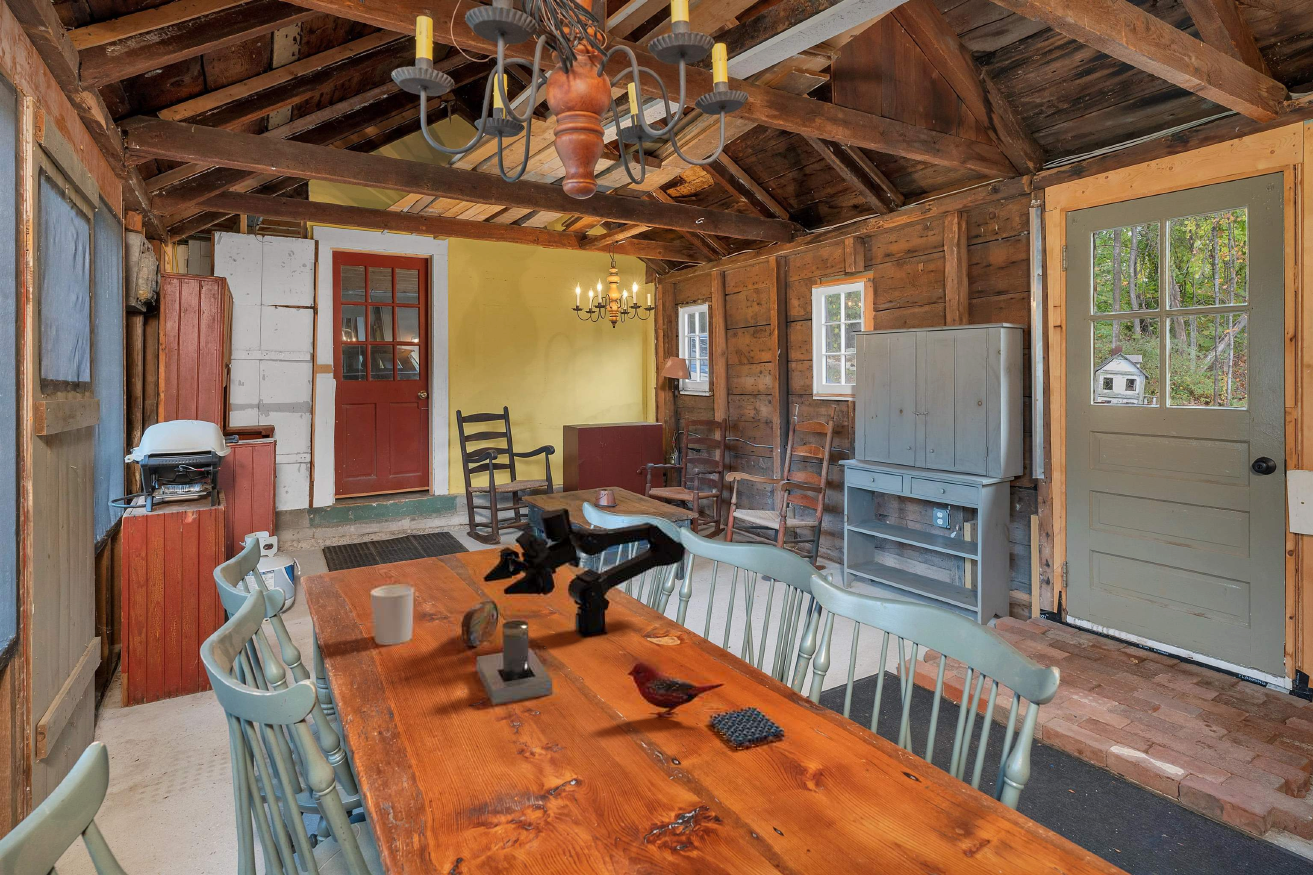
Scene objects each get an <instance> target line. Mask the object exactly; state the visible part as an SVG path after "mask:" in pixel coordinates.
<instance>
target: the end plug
mask: <svg viewBox="0 0 1313 875" xmlns="http://www.w3.org/2000/svg"><path fill="white" fill-rule="evenodd" d="M501 627H502V628H501V630H502V632H501V634H502V653H503V680H504V682H508V681H513V680H519V679H525V678H529V656H528V649H529V622H527V621H526V620H520V619H517V620H515V619H514V620H509V621H505V622H504V623H503V624H502V626H501Z"/></svg>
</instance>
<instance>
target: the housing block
mask: <svg viewBox="0 0 1313 875" xmlns="http://www.w3.org/2000/svg"><path fill="white" fill-rule="evenodd" d="M528 656H529V678H525V679H519V680H513V681H508V682H504V680H503V652H499V653H493V654H487V655H486V654H485V655H480V656H479V655H478V656H476V672H477V674H478V676H479V679H480V681H481V683H482V686H483V688H484V690H485V692H486V694H487V697H488V698H489V700H490V703H491V706H496V705H497V706H498V705H501V704H503V705H504V704H508V703H514V702H518V701H525V700H529V699H533V698H539V697H540V698H541V697H545V696H549V695H551V696H552V695H553V694H554V692H553V678H552V677H551V675H550V673H549V672H548V671H547V670H546V668H545V666H544V665H543V664H542V663H541V661H540V659H539V658H538V656H537V655H536V653H535V652H534V650H532V648H531V647H530V648H529V647H528Z"/></svg>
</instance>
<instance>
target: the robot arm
mask: <svg viewBox="0 0 1313 875" xmlns="http://www.w3.org/2000/svg"><path fill="white" fill-rule="evenodd" d="M539 519H540V522H541V526H542V529H543V532H544V536H545V538H544V537H538V536H537V535H535V534H534V533H532V532H530V531H528V530H524V531H523V532H522V533H521V534H520V535H519V536H517V537H516V538H515V543H516V544H518V545H519V547H520V548H521V549H522V552H521V558H522V559H521V558H520V553H519V552H518V551H517V550H514V549H512V548H510V547H505V548H502V549H500V551H499V552H500V554H499V557H500V558H499V561H498V563H497V564H496V565H495V566H494V567H493V568H492V569H491V570H490V571H489V572H488V573H487V574H486V575H484V577H483V581H484V582H485V583H489V582H496V581H500V580H501V581H502V580H508V579H512V578H513V577H515V576H518V575H520V574H521V572H522V573H524V574H525V575H523V576H522V577H520V578H519V579H518V580H516V581H514V582H513V583H511V584H510V585H508V586H507V587H505V588H504V589H503V594H504V595H540V596H541V595H544V596H547V595H549V594H551V593H553V591H554V589H555V587H556V586H555V581H554V576H553V575H555V574H557V569H559V568H561V567H563V566H564V565H566V564H568V566H570V567H573V568H577V569H578V568H579V566H580V561H581V559H582V558H581V556H579V555H578V554H577V553H578V552H579V553H582V555H583V554H584V555H586V556H590V557H591V556H595V555H598V554H600V553H603V552H605V551H606V550H609V548H612V547H615V546H620V545H627V544H634V543H639V542H643V541H645V542H646V543H647V544H648V547H647V549H646V550H645V551H644V552H642V553H639V554H637V555H636V556H634V557H631V558H628V559H627V560H624V561H623V562H621V563H619V564H617V565H614V566H612V567H609V568H608V569H605V570H603V571H601V572H597V571H596V570H593V569H591V568H590V569H587V570H585V571H583V572H582V573H578V574H575V577H574V578H572V579H571V580H570V581H569V584H568V587H567V593H568V596H569V597H570V598H571V599H572V600H573V602H574V605H577V607H576V610H577V611H576V613H575V614H574V618H575V620H574V622H575V627H574V630H575V631H576V632H578V634H579V635H580V636H581V637H582V638H587V637H592V636H598V635H600V636H601V635H604V634H605V635H606V634H608V632H609V631H608V630H607V629H606V611H607V610H608V609H609V605H610V600H608V598H606V595H607V593H609V591H610V590H611V589H613V588H615V587H617V586H619V585H621V584H624V583H625V582H628V581H629V580H632V579H633V578H635V577H637V576H640V575H642V574H643V573H646V572H647V571H650V570H652V569H654V568H657V567H666V566H671V565H676V564H678V563H680V562H682V561H683V559H684V555H685V546H684V544H683V543H682V542H680V541H677V540H675V539H674V538H672V536H670V535H669V534H667V533H666V532H665V531H663V529H661V527H659V526H658V525H656V523H655V524H654V523H651V522H646V521H645V522H643V523H640V524H634V525H633V524H632V525H628V526H621V527H615V528H614V527H613V528H608V529H599V528H598V529H597V528H586V527H585V528H582V527H581V528H578V529H577V528H573V526H572V522H571V519H570V512H569V509H568V508H565V507H562V508H561V509H553V510H552V509H551V510H546V511H544V512H541V514H540V515H539ZM548 540H550V542H551V544H549V542H548ZM548 544H549V545H548Z"/></svg>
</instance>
